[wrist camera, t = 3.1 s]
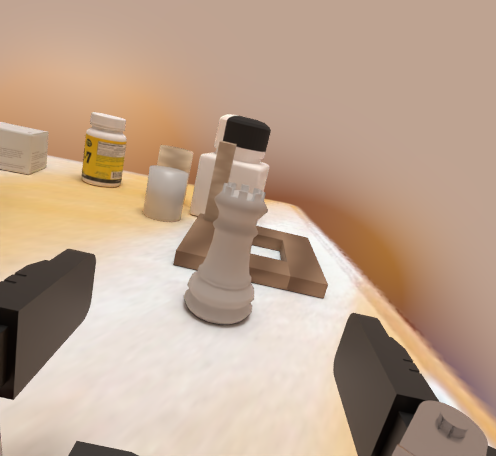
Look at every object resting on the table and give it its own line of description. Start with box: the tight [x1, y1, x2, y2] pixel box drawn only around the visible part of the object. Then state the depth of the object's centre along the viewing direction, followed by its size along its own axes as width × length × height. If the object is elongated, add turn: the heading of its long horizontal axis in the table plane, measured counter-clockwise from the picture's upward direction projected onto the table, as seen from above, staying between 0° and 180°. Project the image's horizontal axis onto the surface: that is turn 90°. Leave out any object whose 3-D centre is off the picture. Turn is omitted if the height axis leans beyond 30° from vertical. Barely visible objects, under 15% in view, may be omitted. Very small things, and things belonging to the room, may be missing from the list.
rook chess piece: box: [184, 182, 268, 324], centre depth 22 cm, size 4×4×8 cm
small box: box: [0, 122, 48, 175], centre depth 44 cm, size 6×6×5 cm
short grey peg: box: [143, 166, 189, 222], centre depth 39 cm, size 4×4×5 cm
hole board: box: [174, 141, 328, 298], centre depth 33 cm, size 12×12×9 cm
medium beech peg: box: [157, 145, 193, 204], centre depth 45 cm, size 4×4×6 cm
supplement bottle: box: [82, 112, 126, 187], centre depth 46 cm, size 5×5×8 cm
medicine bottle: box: [190, 114, 271, 216], centre depth 43 cm, size 7×7×12 cm
